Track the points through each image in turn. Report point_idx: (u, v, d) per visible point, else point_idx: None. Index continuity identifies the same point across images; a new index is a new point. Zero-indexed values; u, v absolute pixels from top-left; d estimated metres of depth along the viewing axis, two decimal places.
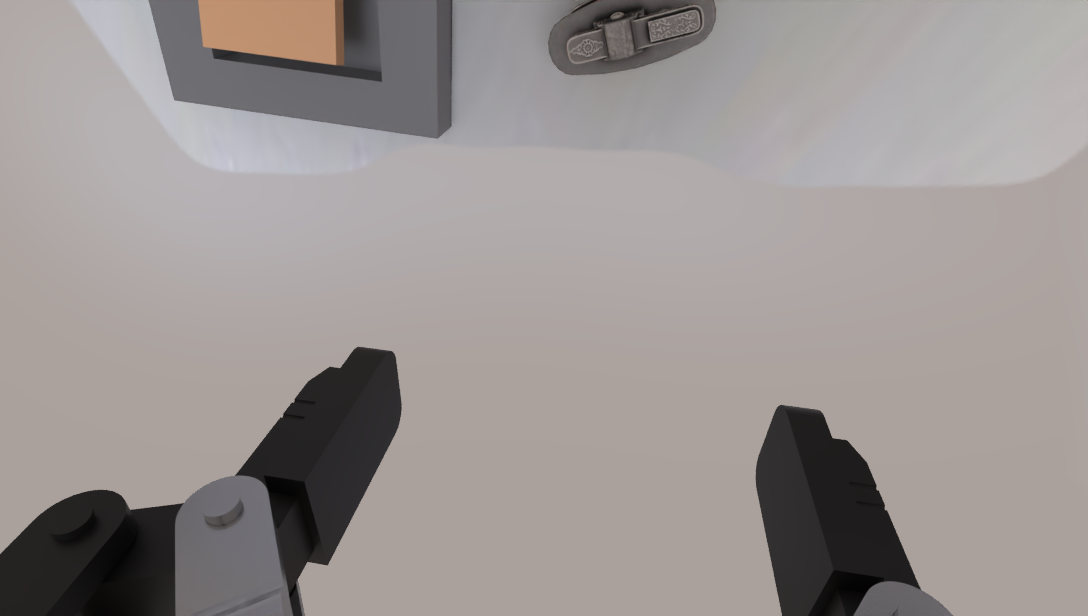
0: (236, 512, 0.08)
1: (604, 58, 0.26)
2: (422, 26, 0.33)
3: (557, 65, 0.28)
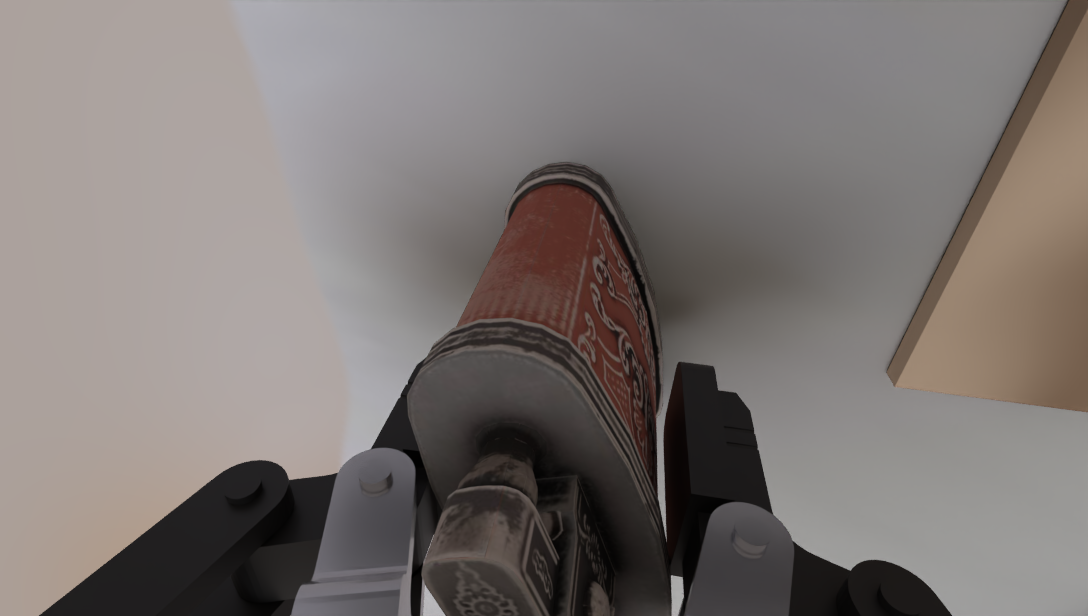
0: (384, 484, 0.09)
1: None
2: None
3: (427, 374, 0.08)
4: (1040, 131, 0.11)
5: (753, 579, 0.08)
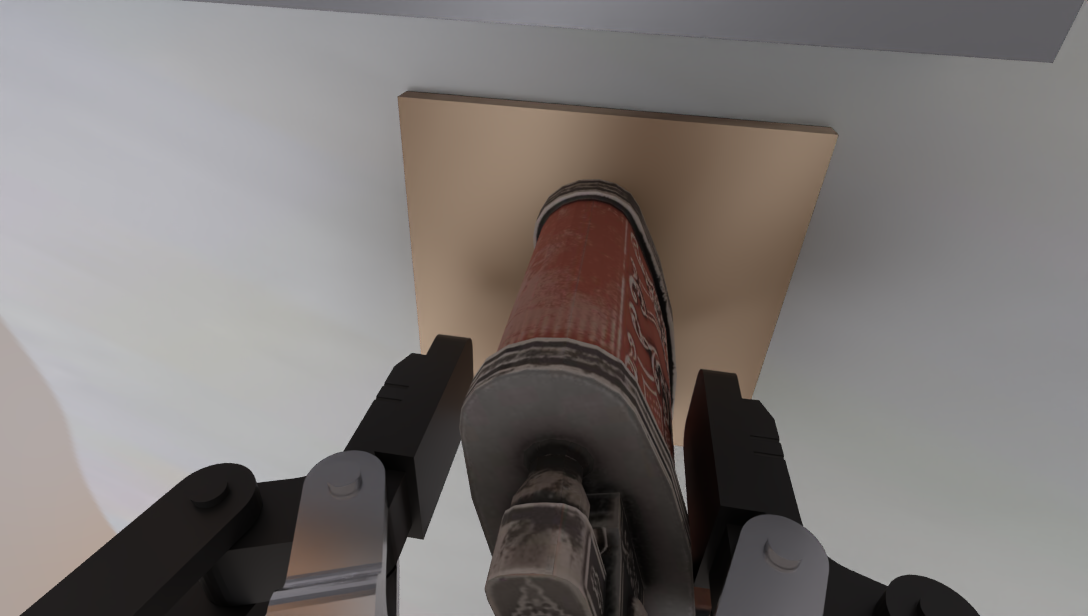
0: (354, 486, 0.09)
1: None
2: None
3: (485, 390, 0.08)
4: (419, 229, 0.15)
5: (784, 594, 0.07)
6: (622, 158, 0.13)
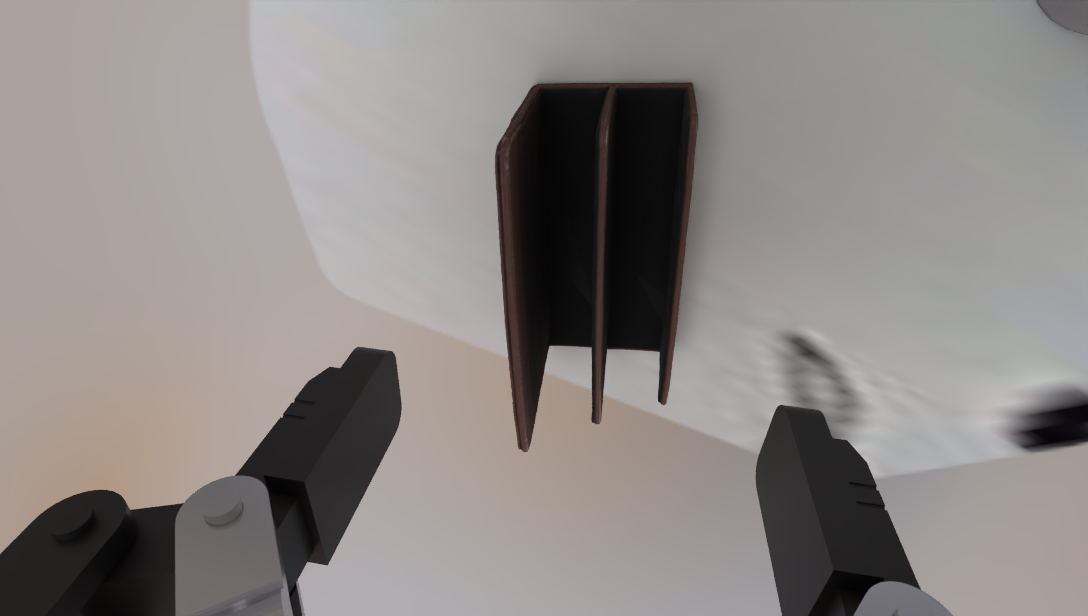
0: (236, 512, 0.08)
1: None
2: None
3: None
4: None
5: None
6: None
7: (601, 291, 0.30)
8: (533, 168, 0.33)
